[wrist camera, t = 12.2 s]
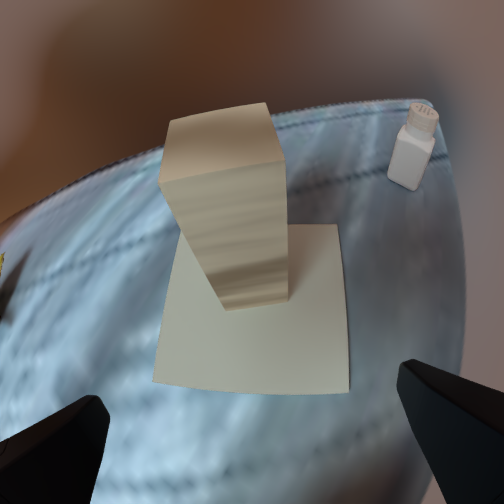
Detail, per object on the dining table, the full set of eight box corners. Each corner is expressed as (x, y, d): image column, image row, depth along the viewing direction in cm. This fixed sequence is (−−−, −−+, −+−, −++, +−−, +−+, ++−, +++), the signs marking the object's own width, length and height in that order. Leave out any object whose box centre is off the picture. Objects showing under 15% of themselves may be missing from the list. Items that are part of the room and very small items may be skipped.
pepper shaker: (384, 179, 29) (402, 108, 21) (394, 162, 30) (410, 96, 22) (414, 194, 27) (440, 126, 19) (422, 176, 28) (444, 112, 20)
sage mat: (347, 392, 18) (348, 392, 17) (154, 382, 20) (152, 381, 19) (336, 227, 26) (336, 224, 25) (183, 230, 28) (182, 227, 27)
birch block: (287, 301, 22) (285, 160, 10) (225, 311, 22) (157, 183, 10) (277, 249, 25) (265, 102, 13) (221, 258, 25) (170, 120, 13)
